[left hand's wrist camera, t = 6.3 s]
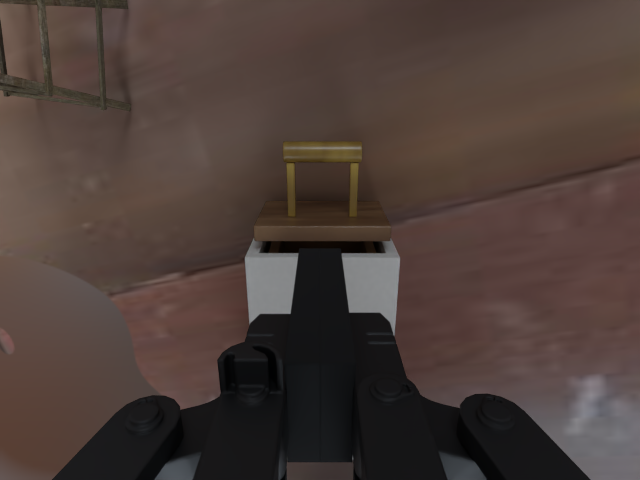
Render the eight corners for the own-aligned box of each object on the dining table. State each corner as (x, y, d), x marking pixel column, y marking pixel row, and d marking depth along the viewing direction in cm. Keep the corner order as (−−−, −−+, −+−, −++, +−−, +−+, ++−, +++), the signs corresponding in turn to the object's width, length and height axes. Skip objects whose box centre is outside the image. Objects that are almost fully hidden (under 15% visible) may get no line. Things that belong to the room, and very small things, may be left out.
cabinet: (261, 219, 38) (244, 257, 30) (382, 219, 38) (400, 257, 30) (270, 389, 45) (258, 459, 36) (373, 389, 45) (385, 460, 36)
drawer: (262, 134, 35) (248, 146, 28) (382, 134, 34) (396, 146, 28) (274, 370, 43) (265, 422, 36) (370, 370, 43) (379, 423, 36)
